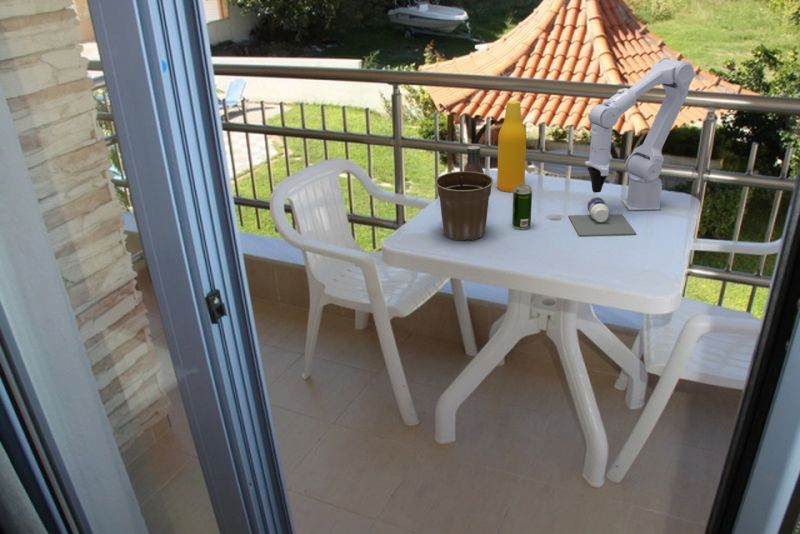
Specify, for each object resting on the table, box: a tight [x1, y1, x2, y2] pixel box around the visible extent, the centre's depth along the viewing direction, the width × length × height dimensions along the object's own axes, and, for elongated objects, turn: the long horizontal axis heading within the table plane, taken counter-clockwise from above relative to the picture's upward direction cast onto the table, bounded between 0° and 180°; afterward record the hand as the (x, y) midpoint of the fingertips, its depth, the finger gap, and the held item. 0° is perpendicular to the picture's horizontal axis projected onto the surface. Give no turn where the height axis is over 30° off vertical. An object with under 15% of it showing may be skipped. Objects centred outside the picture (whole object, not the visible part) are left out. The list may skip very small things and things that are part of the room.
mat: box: [568, 213, 637, 237], centre depth 200 cm, size 16×15×1 cm
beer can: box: [511, 184, 533, 230], centre depth 199 cm, size 5×5×12 cm
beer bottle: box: [496, 100, 527, 193], centre depth 226 cm, size 9×9×29 cm
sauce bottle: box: [463, 145, 485, 174], centre depth 212 cm, size 6×6×20 cm
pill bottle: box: [586, 196, 610, 222], centre depth 203 cm, size 5×5×9 cm
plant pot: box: [434, 170, 494, 242], centre depth 195 cm, size 16×16×16 cm
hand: (596, 191), depth 205 cm, fingers closed
